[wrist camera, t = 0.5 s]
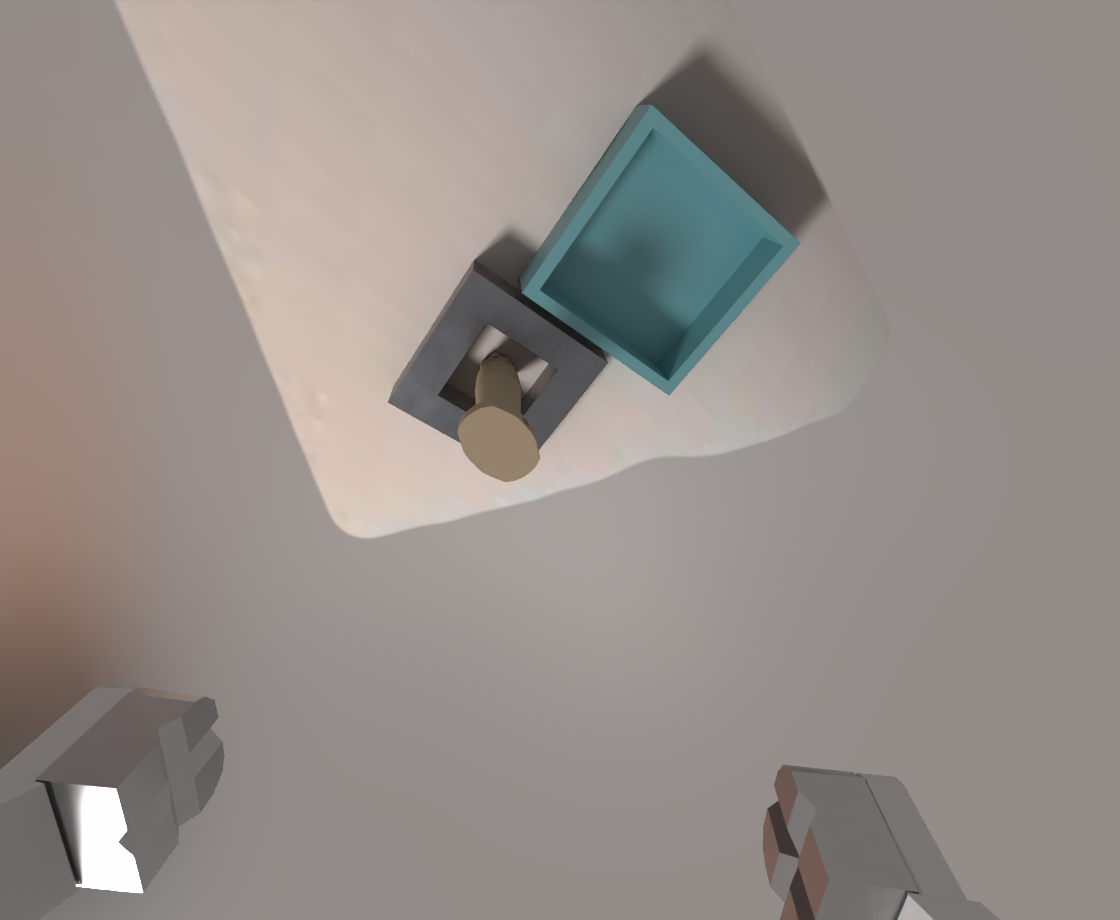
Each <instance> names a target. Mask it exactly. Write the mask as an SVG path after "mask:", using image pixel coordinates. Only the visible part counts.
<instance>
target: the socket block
mask: <svg viewBox="0 0 1120 920" xmlns="http://www.w3.org/2000/svg"><path fill="white" fill-rule="evenodd" d="M486 323H488V324H490V325H491V326H493V327H494V328H496V329H497V330H499V331H500V332H502V333H503V334H505V335H506V336H508V337H510V338H511V339H513V340H514V341H516V342H517V343H519V344H520V345H522V346H523V347H525V348H526V349H528V350H529V351H531V352H532V353H534V354H535V355H537V356H538V357H540V358H542V359H543V360H545V361H546V362H548V363H549V364H548V366H547V367H546V368H545V370H544V371H543V372H542V374H541V375H540V376H539V378H538V379H537V380H536V382H535V383H534V384H533V386H532V387H531V388H530V390H529V391H528V392H527V394H526V395H525V396H524V398H523V399H522V400H521V414H522V415H523V416H524V417H525V418H526V420H527V421H528V423H529V424H530V426H531V427H532V429H533V431H534V434H535V437H536V441H537V445H538V450H539V449H540V448H541V447H542V445H543V444H544V443H545V441H546V440H547V439H548V438H549V436H550V435H551V434H552V433H553V431H554V430H555V429H556V428H557V426H558V425H559V424H560V423H561V421H562V420H563V419H564V417H565V416H566V415H567V414H568V412H569V411H570V410H571V409H572V407H573V406H574V405H575V404H576V402H577V401H578V400H579V399H580V397H581V396H582V395H583V393H584V392H585V391H586V390H587V388H588V387H589V386H590V385H591V383H592V382H593V381H594V380H595V378H596V377H597V376H598V375H599V373H600V372H601V371H602V370H603V368H604V367H605V366H606V364H607V363H608V362H607V360H606V357H605V355H604V353H603V351H602V349H601V348H599V347H598V346H597V345H595V344H594V343H592V342H591V341H589V340H588V339H586V338H585V337H584V336H582V335H581V334H579V333H578V332H576V331H575V330H574V329H572V328H571V327H569V326H568V325H566V324H565V323H563V322H562V321H561V320H559V319H558V318H556V317H555V316H553V315H552V314H551V313H549V312H548V311H546V310H545V309H543V308H542V307H540V306H539V305H538V304H536V303H535V302H533V301H532V300H530V299H529V298H528V297H526V296H525V295H523V294H522V293H520V292H519V291H518V290H516V289H515V288H513V287H512V286H510V285H509V284H507V283H506V282H505V281H503V280H502V279H500V278H499V277H497V276H496V275H495V274H493V273H492V272H490V271H489V270H487V269H486V268H484V267H483V266H482V265H480V264H479V263H477V262H476V261H473V263H472V264H471V266H470V267H469V269H468V270H467V272H466V274H465V275H464V277H463V278H462V280H461V281H460V283H459V285H458V286H457V288H456V289H455V291H454V292H453V294H452V295H451V297H450V299H449V300H448V302H447V303H446V305H445V306H444V308H443V310H442V311H441V313H440V314H439V316H438V317H437V319H436V321H435V322H434V324H433V325H432V327H431V328H430V330H429V332H428V333H427V335H426V336H425V338H424V339H423V341H422V343H421V344H420V346H419V347H418V349H417V350H416V352H415V354H414V355H413V357H412V358H411V360H410V361H409V363H408V365H407V366H406V368H405V369H404V371H403V372H402V374H401V376H400V377H399V379H398V380H397V382H396V383H395V385H394V386H393V389H392V392H391V395H390V398H389V401H388V403H390V404H392V405H393V406H395V407H397V408H399V409H401V410H402V411H404V412H406V413H408V414H410V415H411V416H413V417H415V418H417V419H419V420H420V421H422V422H424V423H426V424H428V425H429V426H431V427H433V428H435V429H436V430H438V431H440V432H442V433H444V434H445V435H447V436H449V437H451V438H453V439H454V440H456V441H458V442H460V439H459V436H458V426H459V423H460V420H461V418H462V416H463V415H464V414H465V413H466V412H467V411H468V410H469V409H470V408H471V407H473V406H474V405H476V401H475V400H474V399H472V398H470V397H468V396H467V395H465V394H463V393H462V392H460V391H458V390H457V389H455V388H453V387H452V386H450V385H448V384H447V383H446V382H447V381H448V379H449V378H450V376H451V375H452V373H453V372H454V370H455V369H456V367H457V366H458V364H459V363H460V361H461V360H462V359H463V357H464V356H465V354H466V353H467V351H468V350H469V348H470V347H471V345H472V344H473V342H474V341H475V339H476V338H477V336H478V335H479V333H480V332H481V330H482V329H483V327H484V326H485V325H486ZM460 443H461V442H460Z"/></svg>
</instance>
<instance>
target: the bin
mask: <svg viewBox="0 0 1120 920" xmlns="http://www.w3.org/2000/svg"><path fill="white" fill-rule="evenodd" d="M799 244H800V242H799V241H798V240H797V239H796V238H794V237H793V236H792V235H791V234H790V233H789V232H788V231H787V230H786V229H785V228H784V227H783V226H782V225H780V224H779V223H778V222H777V221H776V220H775V219H774V218H773V217H772V216H771V215H770V214H769V213H768V212H767V211H765V210H764V209H763V208H762V207H761V206H760V205H759V204H758V203H757V202H756V201H755V200H754V199H753V198H752V197H750V196H749V195H748V194H747V193H746V192H745V191H744V190H743V189H742V188H741V187H740V186H739V185H738V184H737V183H735V182H734V181H733V180H732V179H731V178H730V177H729V176H728V175H727V174H726V173H725V172H724V171H723V170H721V169H720V168H719V167H718V166H717V165H716V164H715V163H714V162H713V161H712V160H711V159H710V158H709V157H708V156H706V155H705V154H704V153H703V152H702V151H701V150H700V149H699V148H698V147H697V146H696V145H695V144H694V143H693V142H691V141H690V140H689V139H688V138H687V137H686V136H685V135H684V134H683V133H682V132H681V131H680V130H679V129H677V128H676V127H675V126H674V125H673V124H672V123H671V122H670V121H669V120H668V119H667V118H666V117H665V116H664V115H662V114H661V113H660V112H659V111H658V110H657V109H656V108H655V107H654V106H653V105H637V106H636V107H635V109H634V110H633V111H632V113H631V114H630V116H629V117H628V119H627V120H626V122H625V123H624V125H623V126H622V128H621V129H620V131H619V132H618V134H617V135H616V137H615V138H614V139H613V141H612V142H611V144H610V145H609V147H608V148H607V150H606V151H605V153H604V154H603V156H602V157H601V159H600V160H599V162H598V163H597V165H596V166H595V167H594V169H593V170H592V172H591V173H590V175H589V176H588V178H587V179H586V181H585V182H584V184H583V185H582V187H581V188H580V190H579V191H578V192H577V194H576V195H575V197H574V198H573V200H572V201H571V203H570V204H569V206H568V207H567V209H566V210H565V212H564V213H563V215H562V216H561V218H560V219H559V220H558V222H557V223H556V225H555V226H554V228H553V229H552V231H551V232H550V234H549V235H548V237H547V238H546V240H545V241H544V243H543V244H542V246H541V247H540V248H539V250H538V251H537V253H536V254H535V256H534V257H533V259H532V260H531V262H530V263H529V265H528V266H527V268H526V269H525V271H524V272H523V274H522V275H521V276H520V284H521V290H522V293H523V294H524V295H525V296H527V297H528V298H530V299H531V300H533V301H534V302H536V303H537V304H538V305H540V306H541V307H543V308H544V309H546V310H547V311H548V312H550V313H551V314H553V315H554V316H556V317H557V318H558V319H560V320H561V321H563V322H564V323H566V324H567V325H569V326H570V327H571V328H573V329H574V330H576V331H577V332H579V333H580V334H581V335H583V336H584V337H586V338H587V339H589V340H590V341H591V342H593V343H594V344H596V345H597V346H599V347H600V348H602V349H603V350H604V351H606V352H607V353H609V354H610V355H612V356H613V357H614V358H616V359H617V360H619V361H620V362H622V363H623V364H625V365H626V366H627V367H629V368H630V369H632V370H633V371H635V372H636V373H637V374H639V375H640V376H642V377H643V378H645V379H646V380H647V381H649V382H650V383H652V384H653V385H655V386H656V387H658V388H659V389H660V390H662V391H663V392H665V393H666V394H668V395H670V394H671V393H672V392H673V391H674V389H675V388H676V387H677V386H678V385H679V384H680V383H681V381H682V380H683V379H684V378H685V377H686V376H687V374H688V373H689V372H690V371H691V370H692V369H693V367H694V366H695V365H696V364H697V363H698V362H699V360H700V359H701V358H702V357H703V356H704V355H705V354H706V352H707V351H708V350H709V349H710V348H711V347H712V345H713V344H714V343H715V342H716V341H717V340H718V338H719V337H720V336H721V335H722V334H723V333H724V331H725V330H726V329H727V328H728V327H729V326H730V325H731V323H732V322H733V321H734V320H735V319H736V318H737V316H738V315H739V314H740V313H741V312H742V311H743V309H744V308H745V307H746V306H747V305H748V304H749V302H750V301H751V300H752V299H753V298H754V297H755V296H756V294H757V293H758V292H759V291H760V290H761V289H762V287H763V286H764V285H765V284H766V283H767V282H768V280H769V279H770V278H771V277H772V276H773V275H774V273H775V272H776V271H777V270H778V269H779V268H780V267H781V265H782V264H783V263H784V262H785V261H786V260H787V258H788V257H789V256H790V255H791V254H792V253H793V251H794V250H795V249H796V248H797V247H798V246H799Z"/></svg>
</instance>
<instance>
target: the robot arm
mask: <svg viewBox="0 0 1120 920" xmlns="http://www.w3.org/2000/svg"><path fill="white" fill-rule="evenodd" d="M217 719H218V714H217V709H216V705H215V701H214V700H213V699H210V698H208V697H204V696H197V695H190V694H183V693H176V692H169V691H163V690H156V689H149V688H143V687H141V688H139V687H131V686H125V685H118V684H111V683H108V684H106V685H103V686H100V687H97V688H95V689H94V690H92V691H91V692H90V693H89V694H88V695H87V696H85V697H84V699H82V700H81V701H80V702H78V703H77V704H76V705H75V706H74V707H73V708H72V709H70V710H69V711H68V712H67V713H66V714H65V715H63V716H62V717H61V718H60V719H59V720H58V721H57V722H55V723H54V724H53V725H52V726H51V727H50V728H48V729H47V730H46V731H45V732H44V733H43V734H42V735H40V736H39V737H38V738H37V739H36V740H35V741H33V742H32V743H31V744H30V745H29V746H28V747H26V748H25V749H24V750H23V751H22V752H21V753H20V754H18V755H17V756H16V757H15V758H14V759H13V760H12V761H10V762H9V763H8V764H7V765H6V766H5V767H3V768H2V769H1V770H0V920H38V919H40V918H41V917H43V916H44V915H45V914H47V913H48V912H49V911H51V910H52V909H53V908H55V907H56V906H58V905H59V904H60V903H62V902H63V901H64V900H66V899H67V898H68V897H70V896H71V895H73V894H74V893H75V892H77V890H78V888H77V886H79V887H90V888H99V889H109V890H119V891H128V892H138V893H143V892H144V891H145V889H146V888H147V886H148V885H149V884H150V882H151V881H152V880H153V878H154V877H155V875H156V874H157V873H158V871H159V870H160V868H161V867H162V866H163V864H164V863H165V861H166V860H167V859H168V857H169V856H170V854H171V853H172V851H173V850H174V849H175V848H176V846H177V845H178V837H179V836H178V835H179V833H178V831H179V826H180V825H182V824H183V823H185V822H186V821H188V820H190V819H191V818H193V817H194V816H196V815H198V814H199V813H200V812H201V811H202V809H203V808H204V807H205V805H206V804H207V802H208V801H209V799H210V797H211V796H212V795H213V793H214V791H215V788H216V786H217V783H218V781H219V779H220V776H221V773H222V770H223V762H224V749H223V743H222V741H221V740H220V739H219V738H218V736H217V735H216V734H215V733H214V732H213V731H212V730H211V729H210V728H211V727H212V725H213V724H214V723H215V721H216V720H217ZM774 786H775V790H776V793H777V796H778V801H777V802H776V803H774V804H773V805H772V806H770V807H769V808H768V809H767V813H766V818H765V822H764V826H763V852H764V858H765V866H766V870H767V875H768V879H769V883H770V886H771V887H772V889H773V890H774V891H775V892H776V893H777V895H778V896H779V897H780V898H781V899H782V900H783V902H784V903H785V905H784V908H783V911H782V915H781V918H780V920H1000V919H999V918H998V917H996V916H995V915H994V914H993V913H992V912H991V911H990V910H988V909H987V908H986V907H985V906H984V905H983V904H981V903H980V902H975V901H969V900H967V898H966V896H965V895H964V893H963V891H962V889H961V887H960V886H959V884H958V882H957V880H956V878H955V877H954V875H953V873H952V871H951V869H950V867H949V866H948V864H947V862H946V860H945V858H944V857H943V855H942V853H941V851H940V849H939V848H938V846H937V844H936V842H935V840H934V838H933V837H932V835H931V833H930V831H929V830H928V828H927V826H926V824H925V822H924V821H923V819H922V817H921V815H920V813H919V812H918V810H917V808H916V806H915V804H914V802H913V801H912V799H911V797H910V795H909V793H908V792H907V790H906V788H905V786H904V784H903V783H902V782H901V781H899V780H898V779H897V778H896V777H890V776H881V775H872V774H863V773H857V774H855V773H853V772H846V771H836V770H827V769H818V768H807V767H799V766H790V765H783V766H782V767H781V768H780V770H779V771H778V773H777V777H776V780H775V783H774Z"/></svg>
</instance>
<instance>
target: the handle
mask: <svg viewBox="0 0 1120 920" xmlns="http://www.w3.org/2000/svg"><path fill="white" fill-rule="evenodd" d="M475 399H476V405H474V406H473V407H471V408H470V409H469V410H468V411H467V412H466V413H465V414H464V415H463V416H462V418H461V420H460V423H459V426H458V436H459V439H460V442H461V445H462V449H463V451H464V453H465V455H466V456H467V457H468V458H469V460H470V461H471V462H472V463H473V464H474V465H475V466H476V467H477V468H478V469H480V470H481V471H482V472H483V473H485V474H487V475H489V476H491V477H494V478H496V479H499V480H502V481H504V482H509V481H515V480H518V479H520V478H522V477H524V476H526V475H527V474H528V473H530V472H531V471H532V470H533V469H534V468H535V467H536V465H537V463H538V461H539V459H540V455H539V450H538V445H537V441H536V437H535V434H534V431H533V429H532V427H531V426H530V424H529V423H528V421H527V420H526V418H525V417H524V416H523V415H522V414H521V386H520V381H519V377H518V374H517V371H516V369H515V367H514V363H513V361H512V359H511V358H510V357H503V356H500V355H499V354H497V353H492V354H491V356H490V357H489V358H488V359H486V360H483V361H482V362H481V365H480V370H479V372H478V375H477V379H476V385H475Z"/></svg>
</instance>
